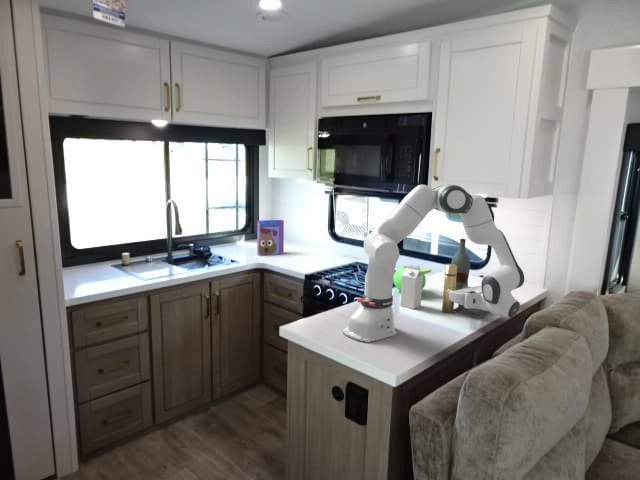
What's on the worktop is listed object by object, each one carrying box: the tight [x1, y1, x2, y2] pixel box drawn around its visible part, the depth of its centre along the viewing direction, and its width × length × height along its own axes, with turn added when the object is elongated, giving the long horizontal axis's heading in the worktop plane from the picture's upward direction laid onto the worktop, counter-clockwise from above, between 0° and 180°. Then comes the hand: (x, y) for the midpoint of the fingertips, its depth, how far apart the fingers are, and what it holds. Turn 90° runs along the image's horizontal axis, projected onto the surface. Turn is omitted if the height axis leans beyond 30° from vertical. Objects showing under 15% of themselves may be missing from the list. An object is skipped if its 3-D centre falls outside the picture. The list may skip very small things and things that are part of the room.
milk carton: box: [399, 265, 423, 310], centre depth 206 cm, size 7×7×19 cm
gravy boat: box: [393, 264, 433, 292], centre depth 227 cm, size 18×17×15 cm
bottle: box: [450, 238, 471, 290], centre depth 219 cm, size 9×9×30 cm
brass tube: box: [441, 263, 457, 315], centre depth 199 cm, size 5×5×22 cm
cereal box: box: [256, 219, 285, 257], centre depth 303 cm, size 17×5×24 cm, turn 113°
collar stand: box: [453, 304, 492, 320], centre depth 201 cm, size 13×13×6 cm
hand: (455, 289), depth 195 cm, fingers open, 8 cm apart
